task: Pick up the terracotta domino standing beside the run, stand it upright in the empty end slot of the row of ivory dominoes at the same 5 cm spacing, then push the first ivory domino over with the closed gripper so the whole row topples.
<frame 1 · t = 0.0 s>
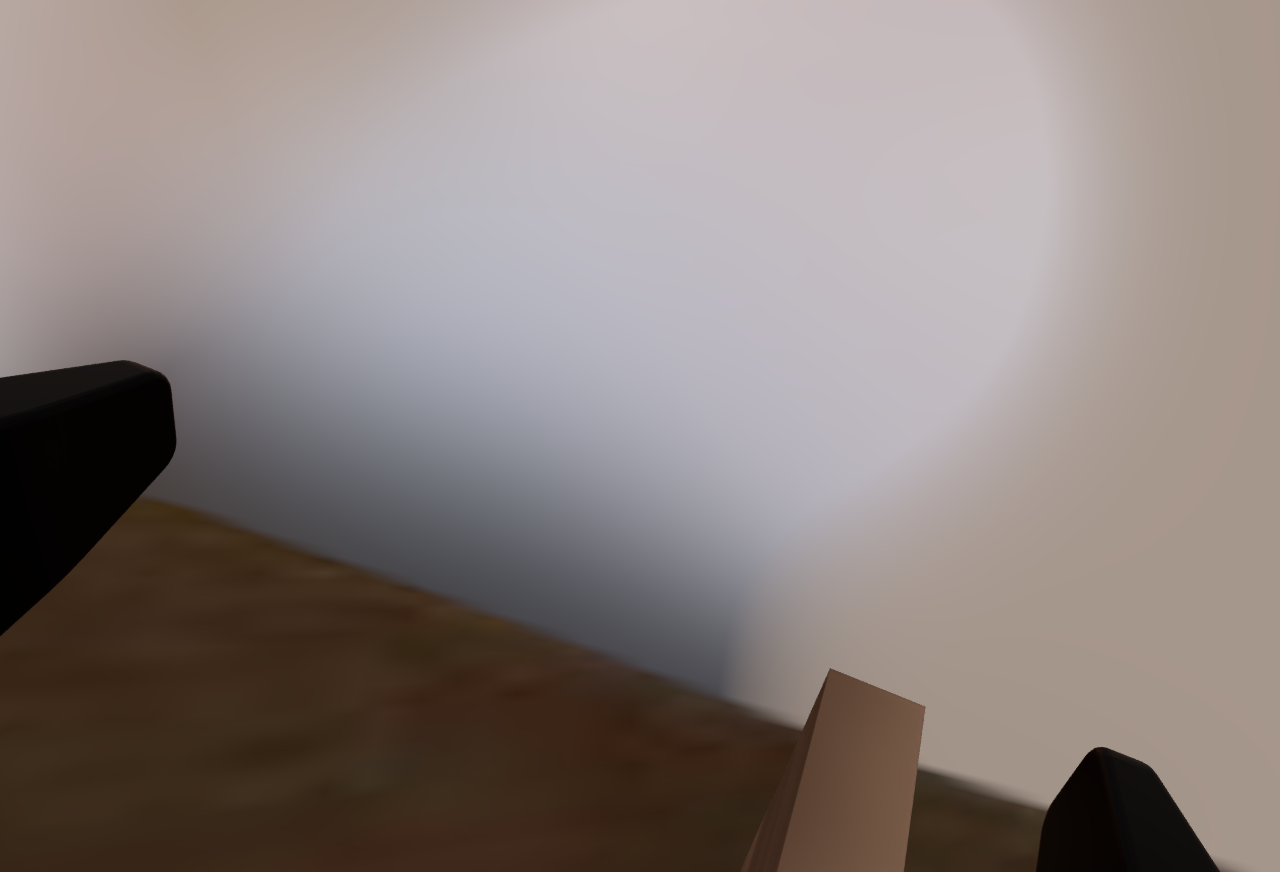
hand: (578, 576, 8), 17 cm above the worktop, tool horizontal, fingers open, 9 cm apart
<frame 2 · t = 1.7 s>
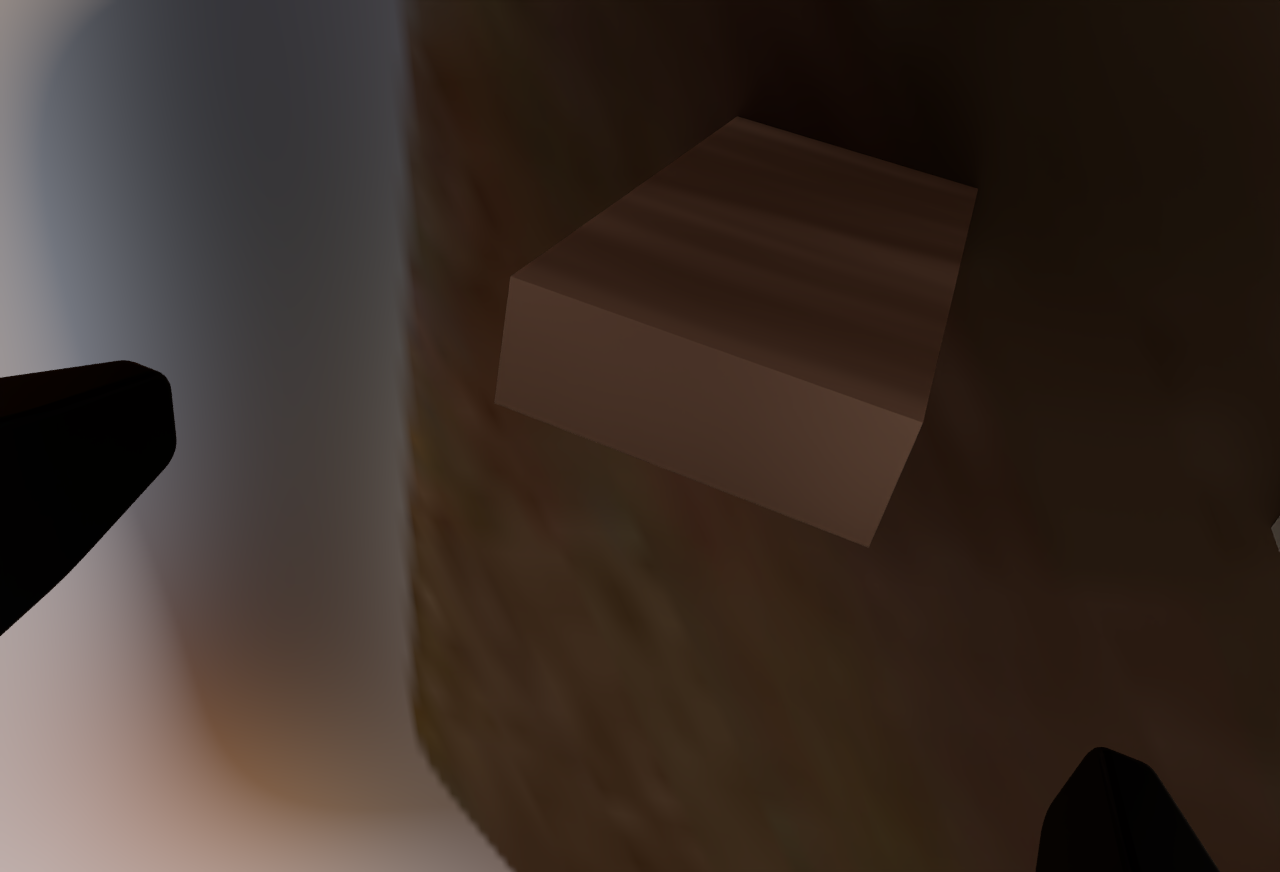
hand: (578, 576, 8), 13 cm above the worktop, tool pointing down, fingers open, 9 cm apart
end domino: (840, 194, 19), on the worktop
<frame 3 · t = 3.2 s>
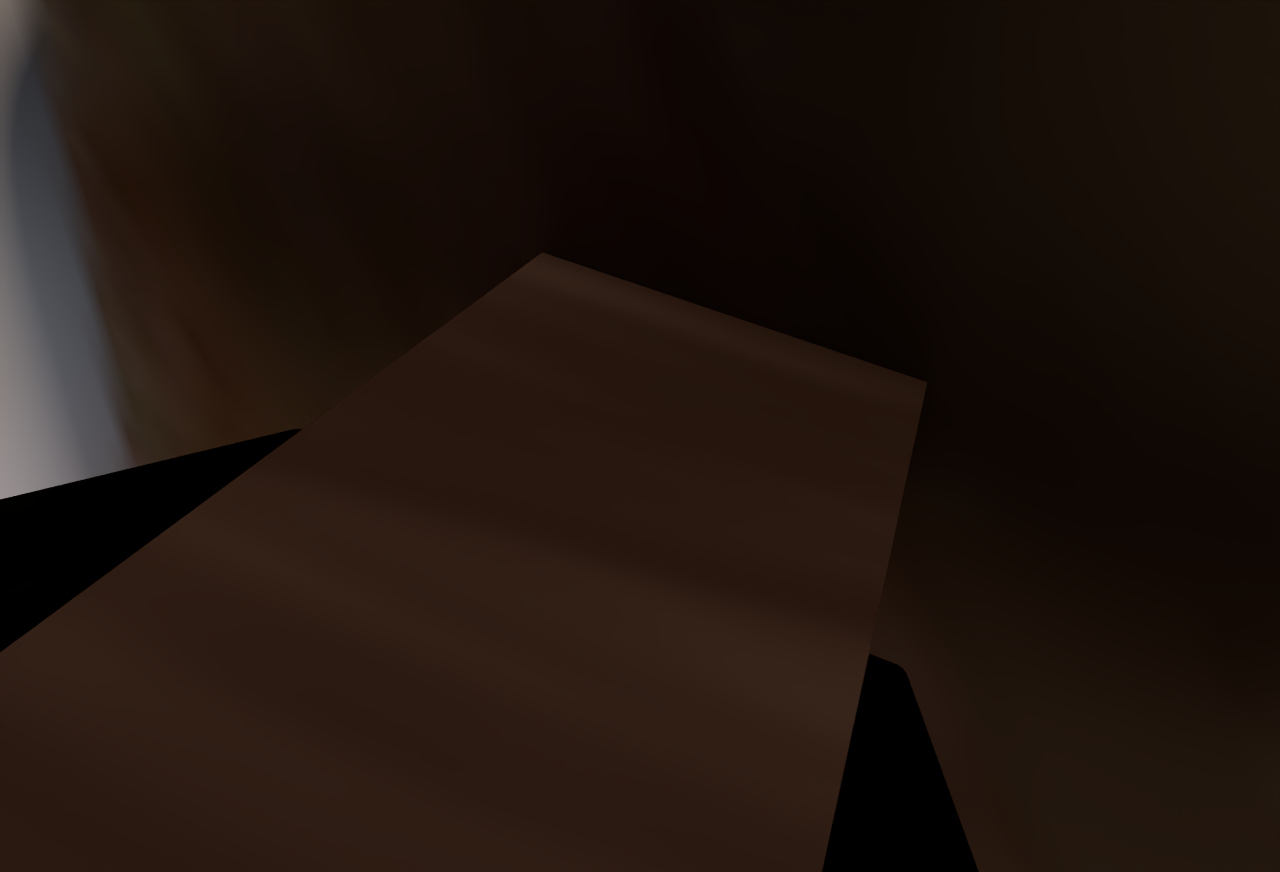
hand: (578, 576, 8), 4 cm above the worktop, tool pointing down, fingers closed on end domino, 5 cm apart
end domino: (710, 377, 12), on the worktop, touching gripper
when the fingers open (5 cm above the worktop, at t = 8.0 s): end domino stays where it is, on the worktop.
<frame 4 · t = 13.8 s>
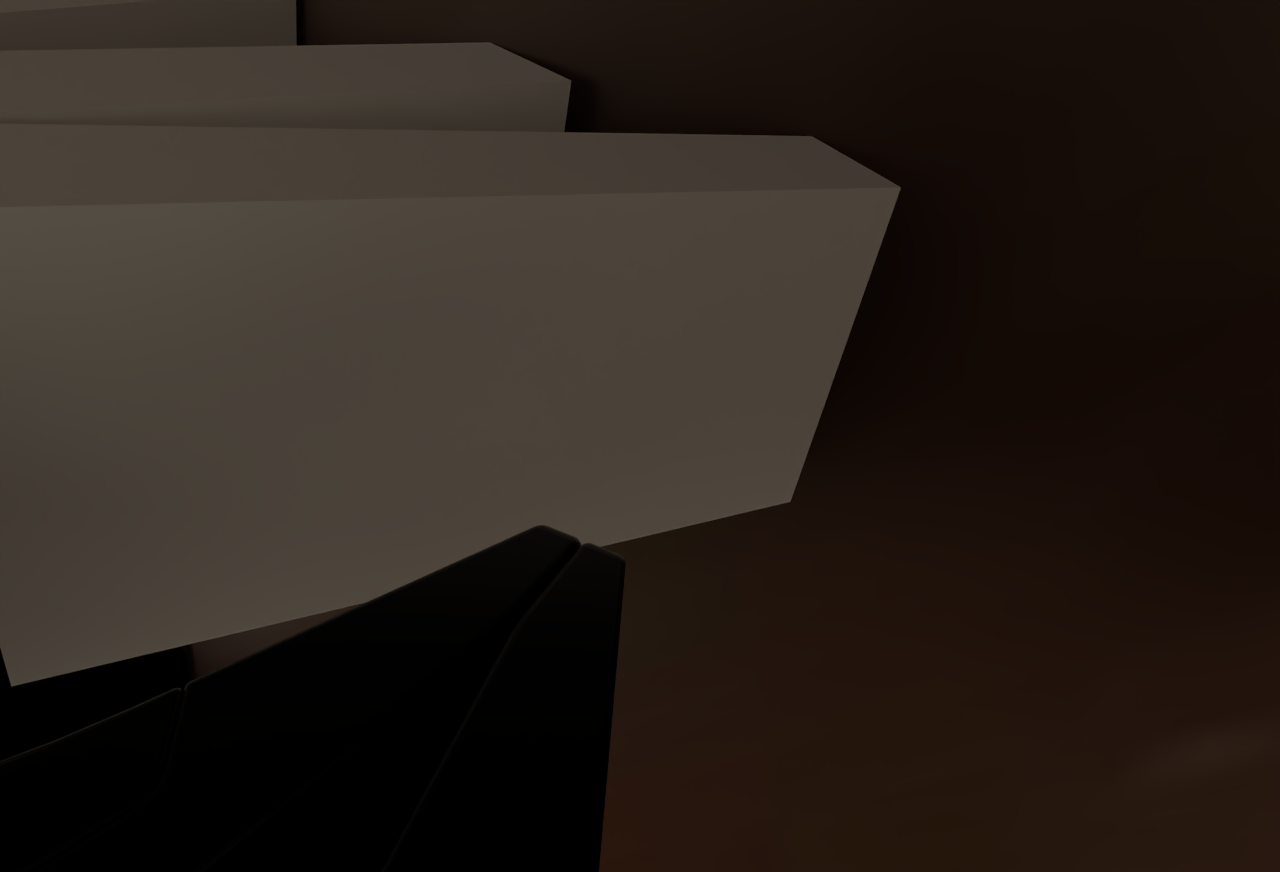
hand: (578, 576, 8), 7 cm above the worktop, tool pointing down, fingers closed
domino 3: (256, 135, 16), on the worktop, tilted 6°
domino 2: (510, 226, 15), on the worktop, tilted 24°
domino 1: (800, 329, 14), point 1 cm above the worktop, tilted 40°
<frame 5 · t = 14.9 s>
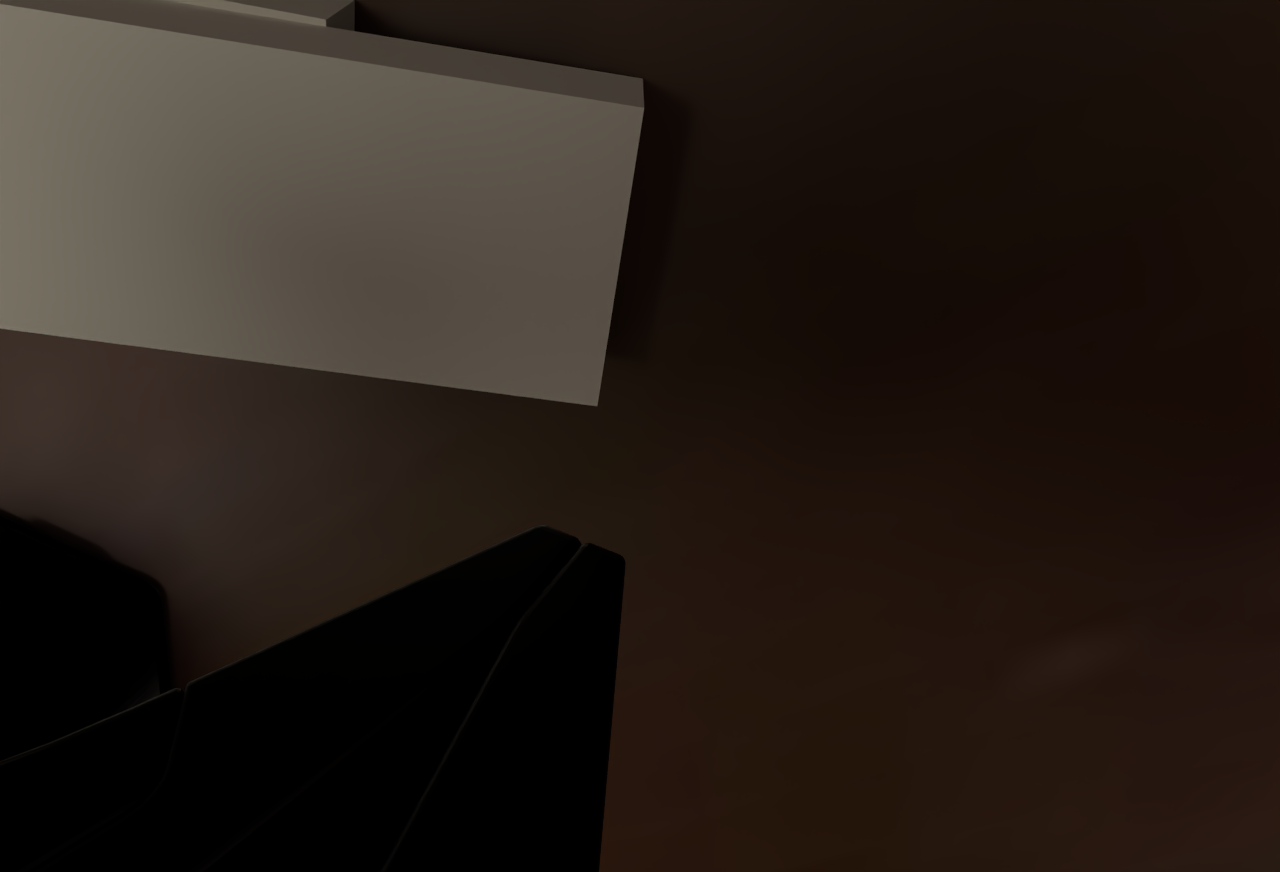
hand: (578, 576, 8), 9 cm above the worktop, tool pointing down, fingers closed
domino 2: (340, 162, 16), point 1 cm above the worktop, tilted 70°, touching domino 1, domino 3
domino 1: (619, 248, 15), point 1 cm above the worktop, tilted 70°, touching domino 2
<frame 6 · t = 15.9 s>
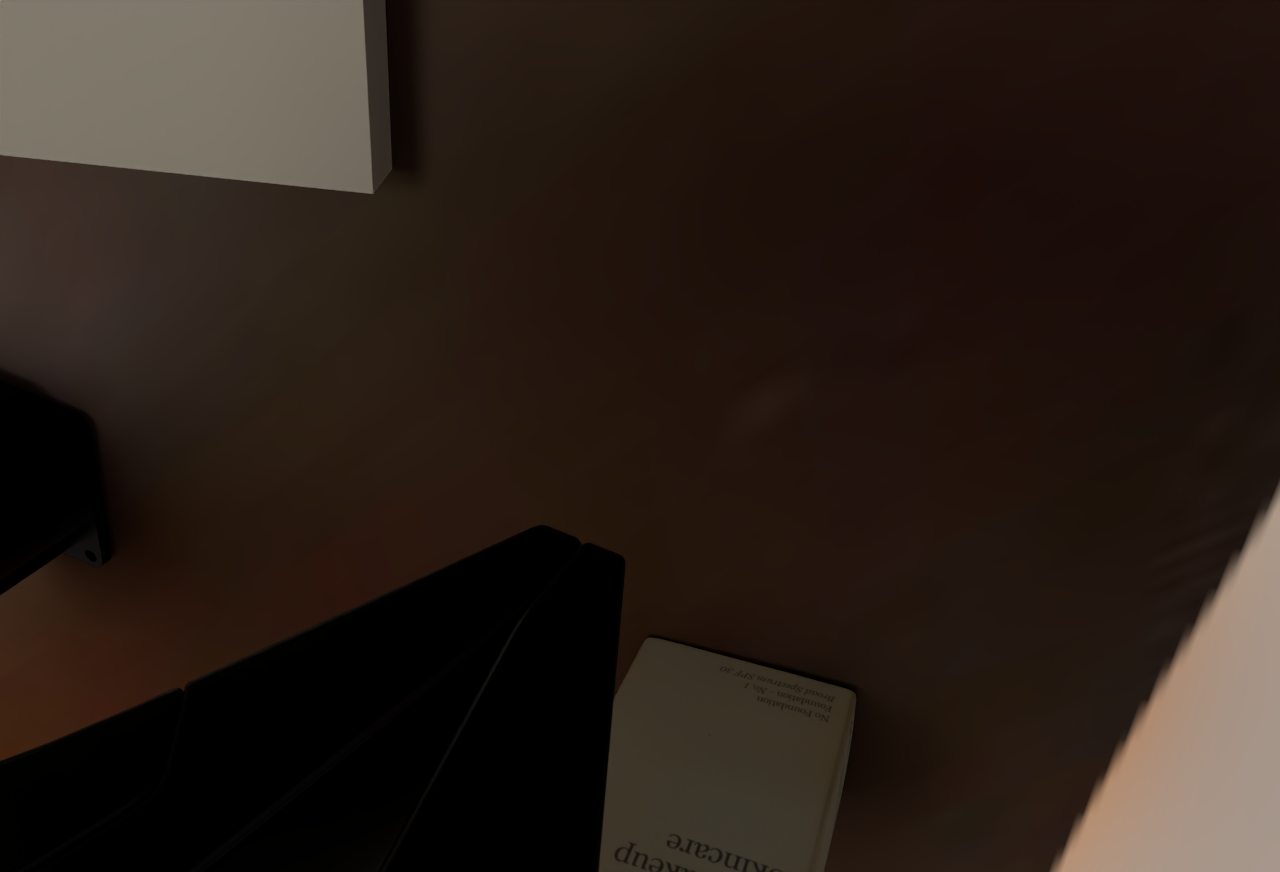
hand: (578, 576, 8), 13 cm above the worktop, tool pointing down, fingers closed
skincare box: (742, 709, 27), on the worktop
domino 1: (377, 67, 20), point 1 cm above the worktop, tilted 71°, touching domino 2
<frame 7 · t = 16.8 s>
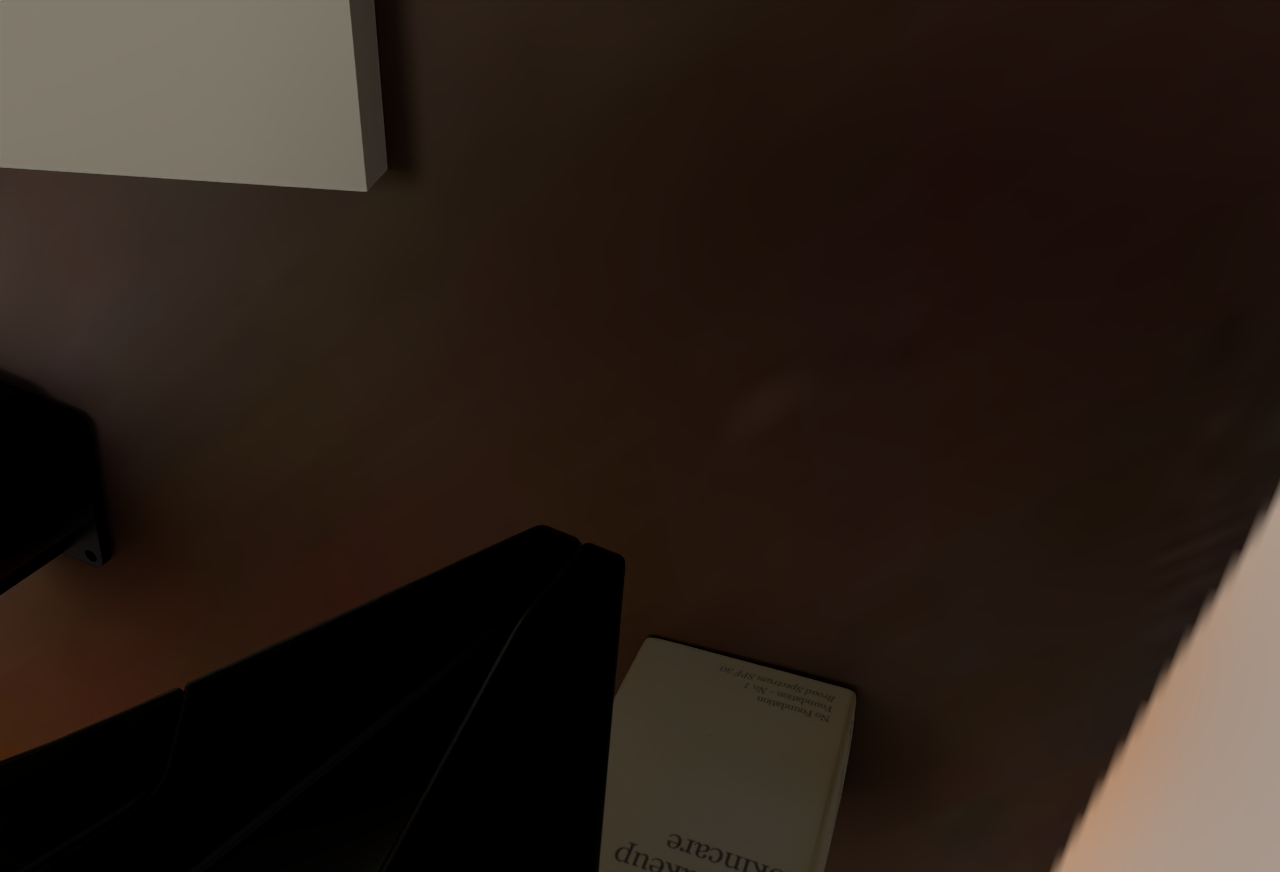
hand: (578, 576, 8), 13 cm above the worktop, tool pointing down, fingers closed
skincare box: (742, 709, 27), on the worktop
domino 1: (367, 65, 20), point 1 cm above the worktop, tilted 72°, touching domino 2
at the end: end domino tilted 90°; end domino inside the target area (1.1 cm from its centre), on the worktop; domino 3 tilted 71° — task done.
